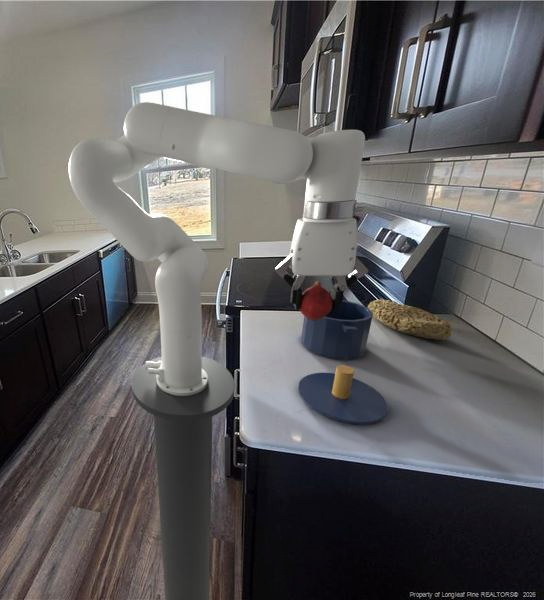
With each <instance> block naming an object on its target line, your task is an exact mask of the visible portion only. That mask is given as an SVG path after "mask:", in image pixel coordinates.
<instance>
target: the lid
mask: <svg viewBox="0 0 544 600" xmlns="http://www.w3.org/2000/svg"><path fill="white" fill-rule="evenodd" d="M354 376H355V370H354V369H353V368H352V367H351V366H348V365H343V364H342V365H341V364H340V365H337V366H336V368H335V372H315V373H310V374H307V375H305V376H303V377H302V378H301V379H300V380H299V382H298V384H297V392H298V394H299V397H300V398H301V400H302V401H303V402H304V403H305V404H306V405H308V407H310V408H311V409H313V410H314V411H315V412H317V413H319V414H321V415H323V416H325V417H328V418H330V419H333V420H336V421H339V422H343V423H347V424H354V425H355V424H356V425H369V424H374V423H377V422H379V421H382V420H383V419H384V418H385V417H386V416H387V413H388V409H389V405H388V402H387V400H386V398H385V397H384V396H383V395H382V394H381V393H380V392H379V391H378V390H376V388H374V387H373V386H371V385H369V384H368V383H365V382H364V381H362V380H359V379H357V378H354Z"/></svg>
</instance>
